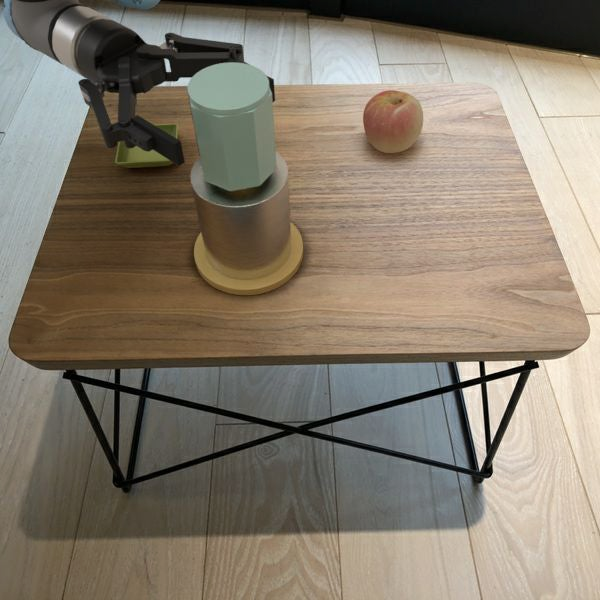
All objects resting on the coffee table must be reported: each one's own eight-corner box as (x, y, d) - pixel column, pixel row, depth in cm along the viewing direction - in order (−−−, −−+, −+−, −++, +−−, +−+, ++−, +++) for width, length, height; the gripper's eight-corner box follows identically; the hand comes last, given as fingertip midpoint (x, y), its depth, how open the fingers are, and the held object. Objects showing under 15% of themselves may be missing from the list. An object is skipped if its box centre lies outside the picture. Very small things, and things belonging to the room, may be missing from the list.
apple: (363, 163, 90) (367, 117, 83) (359, 126, 95) (362, 80, 89) (422, 162, 90) (431, 116, 83) (415, 124, 95) (422, 78, 89)
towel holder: (173, 267, 78) (127, 106, 59) (235, 201, 85) (213, 38, 66) (264, 312, 74) (247, 153, 55) (323, 238, 81) (325, 75, 62)
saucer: (181, 133, 95) (178, 122, 93) (178, 171, 89) (175, 160, 88) (124, 137, 94) (120, 125, 93) (118, 174, 89) (114, 163, 87)
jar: (187, 173, 67) (170, 93, 59) (229, 133, 71) (219, 54, 63) (247, 199, 65) (238, 119, 57) (288, 156, 69) (284, 76, 61)
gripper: (184, 37, 81) (306, 97, 73) (23, 127, 70) (144, 211, 61) (174, -21, 75) (305, 37, 67) (-4, 68, 64) (126, 151, 55)
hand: (228, 121), depth 64 cm, fingers open, 13 cm apart
